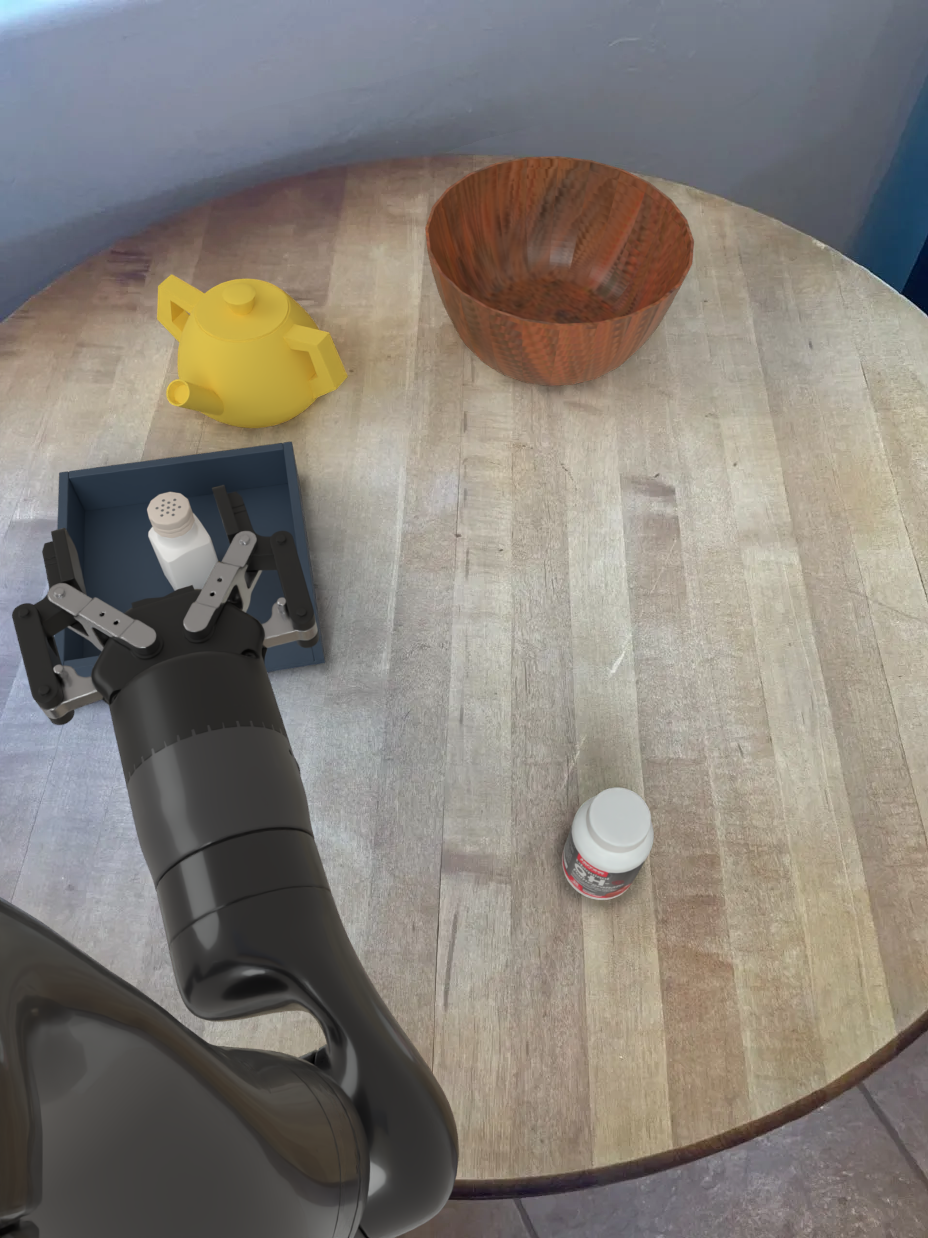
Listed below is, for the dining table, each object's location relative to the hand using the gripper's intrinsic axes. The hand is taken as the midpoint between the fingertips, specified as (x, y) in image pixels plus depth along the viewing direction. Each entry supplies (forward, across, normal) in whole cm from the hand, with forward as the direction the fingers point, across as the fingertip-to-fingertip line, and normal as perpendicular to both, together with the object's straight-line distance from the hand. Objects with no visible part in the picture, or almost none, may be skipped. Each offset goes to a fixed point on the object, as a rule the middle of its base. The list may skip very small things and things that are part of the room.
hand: (143, 516), depth 52 cm
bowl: (+32, -41, +26) cm, 59 cm away
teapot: (+34, -10, +26) cm, 44 cm away
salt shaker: (+14, -1, +26) cm, 29 cm away
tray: (+14, 0, +26) cm, 30 cm away
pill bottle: (-20, -22, +26) cm, 40 cm away
